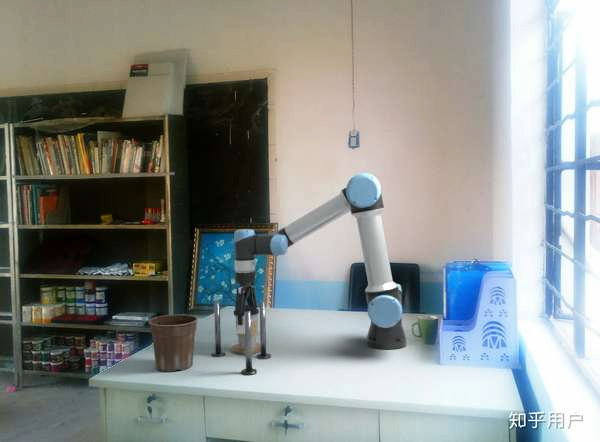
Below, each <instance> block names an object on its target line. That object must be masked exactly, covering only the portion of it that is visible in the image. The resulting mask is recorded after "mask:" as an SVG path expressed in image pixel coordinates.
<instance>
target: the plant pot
mask: <svg viewBox="0 0 600 442" xmlns="http://www.w3.org/2000/svg"><path fill="white" fill-rule="evenodd" d="M198 320H199V317H197V316H195V315H191V314H166V315H160V316H155V317H152V318H151V319H149V320H148V324H149V327H150V333H151V335H152V343H153V344H152V345H153V353H154V362H155V363H154V364H155V368H156V369H157V370H158V371H160V372H164V373H165V372H166V373H167V372H169V373H172V372H176V371H177V370H178V371H185V370H187V369H190V368H191V367H193V364H194V362H193V360H194V349H195V335H196V331H197V322H198Z"/></svg>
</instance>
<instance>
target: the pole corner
mask: <svg viewBox="0 0 600 442" xmlns="http://www.w3.org/2000/svg"><path fill="white" fill-rule="evenodd" d="M258 302H259V327H260V328H259V334H260V335H259V336H260V339H259V340H260V342H259V344H261V352H260V353H257V354H256V358H257V359H259V360H267V359H270V358H271V357H272V356H271V355H272V354H271V353H267V330H266V329H267V325H266V323H267V321H266V301H265V300H259V301H258Z"/></svg>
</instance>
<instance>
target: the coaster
mask: <svg viewBox="0 0 600 442" xmlns="http://www.w3.org/2000/svg"><path fill="white" fill-rule="evenodd" d="M230 352H231V353H232V354H235V355H243V356H246V353H245V349H240V347H239V343H238V344H234V345H232V346H231V347H230ZM260 353H261V343H257V342H256V346H255V348H253V349H252V355H255V354H256V355H257V354H260Z"/></svg>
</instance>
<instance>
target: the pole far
mask: <svg viewBox="0 0 600 442" xmlns="http://www.w3.org/2000/svg"><path fill="white" fill-rule="evenodd" d="M220 302H221V301H220V299H214V300H213V309H214V312H213V313H214V315H213V316H214V339H215V340H214V343H215V344H214V347H215V348H214V349H215V351H214V352H211V355H210V356H211V357H213V358H222V357H225V356H226V352H225V351H222V340H221V338H222V334H221V303H220Z"/></svg>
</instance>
